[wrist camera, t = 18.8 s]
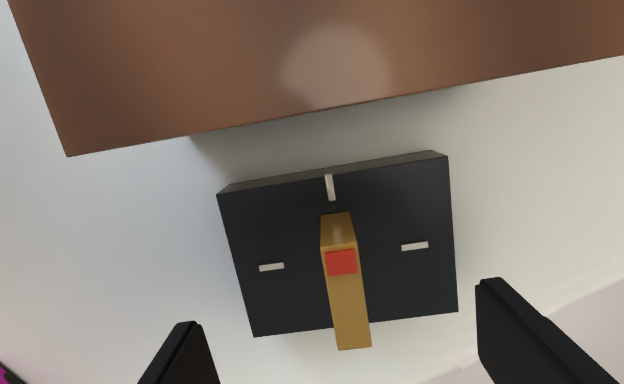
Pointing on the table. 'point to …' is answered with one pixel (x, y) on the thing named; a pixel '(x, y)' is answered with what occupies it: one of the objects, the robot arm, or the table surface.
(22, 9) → the lid
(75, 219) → the table surface
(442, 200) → the lock plate
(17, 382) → the candy bar box
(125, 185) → the table surface
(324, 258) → the thumb turn
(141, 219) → the table surface
